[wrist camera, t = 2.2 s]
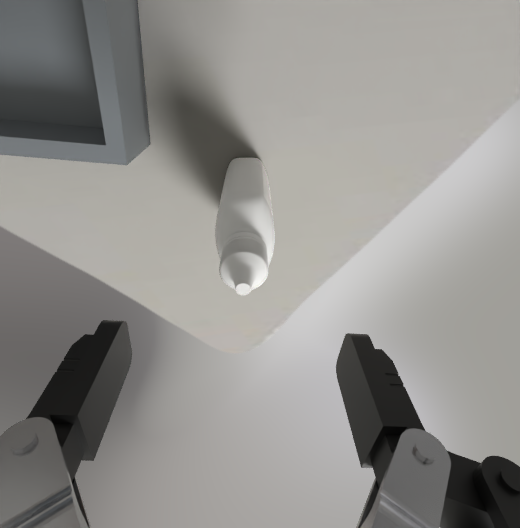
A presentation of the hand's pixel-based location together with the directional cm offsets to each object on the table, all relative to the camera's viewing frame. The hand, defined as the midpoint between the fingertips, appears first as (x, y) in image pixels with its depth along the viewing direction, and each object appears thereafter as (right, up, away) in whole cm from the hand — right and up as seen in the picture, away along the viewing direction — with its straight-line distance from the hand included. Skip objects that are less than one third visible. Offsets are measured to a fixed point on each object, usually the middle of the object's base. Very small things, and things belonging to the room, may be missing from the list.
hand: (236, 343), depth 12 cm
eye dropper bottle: (0, +8, +13) cm, 15 cm away
